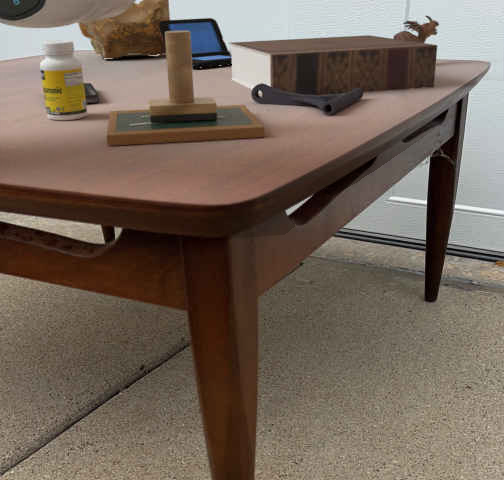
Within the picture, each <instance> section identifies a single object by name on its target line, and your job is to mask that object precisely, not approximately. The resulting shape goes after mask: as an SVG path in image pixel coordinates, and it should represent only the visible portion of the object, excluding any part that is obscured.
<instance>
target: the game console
mask: <svg viewBox="0 0 504 480" xmlns="http://www.w3.org/2000/svg"><path fill="white" fill-rule="evenodd" d="M159 29H160V32H161V34H162V37H163V39H164V42H165V32H166V31H190V35H191V53H192V69H196V68H197V69H201V68H200V67H208V68H211V67H210V66H218V67H220V66H219V65H228V64H232V57H231V51H229V50H228V47H227V44H226V42H225V41H224V37H223V34H222V31H221V29H220V27H219V23H218V22H217V20H216V19H214V18H212V17H206V18H185V19H184V18H183V19H170V20H164V21H160V22H159ZM165 44H166V42H165ZM228 66H229V65H228Z"/></svg>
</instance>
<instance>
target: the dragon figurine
mask: <svg viewBox="0 0 504 480" xmlns="http://www.w3.org/2000/svg"><path fill="white" fill-rule="evenodd" d="M425 17H426V18H427V19H428V21H429V22H425V23H424V22H423V23H422V24H420V23H419V22H418V21H419V20H415V21H414V20H406V21H404V22H403V25H404V28H407V30H402V31H399V32H397V33H396V34H394V35H393V38H392V39H398V40H405V41H412V42H419V43H425V42H426V41H427V39H428V38H430V37H431V36H436V35H437V34H438V31H437V30H438V28H437V27H439V26H440V23H439V22H438V21H437V20H434V19H432V17H430V15H425ZM408 30H411V32H410V31H408ZM413 31H414V32H416V33H417V35H415V34H414V33H412V32H413Z"/></svg>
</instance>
